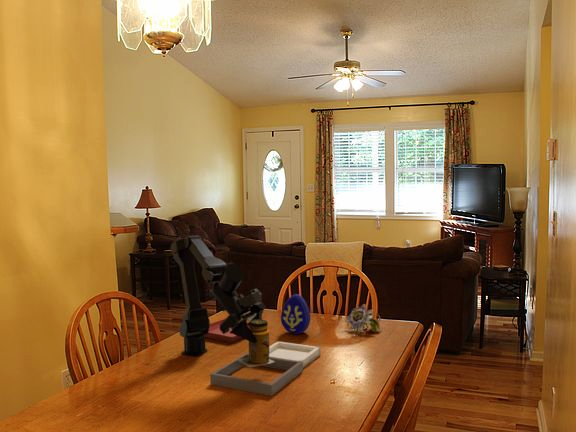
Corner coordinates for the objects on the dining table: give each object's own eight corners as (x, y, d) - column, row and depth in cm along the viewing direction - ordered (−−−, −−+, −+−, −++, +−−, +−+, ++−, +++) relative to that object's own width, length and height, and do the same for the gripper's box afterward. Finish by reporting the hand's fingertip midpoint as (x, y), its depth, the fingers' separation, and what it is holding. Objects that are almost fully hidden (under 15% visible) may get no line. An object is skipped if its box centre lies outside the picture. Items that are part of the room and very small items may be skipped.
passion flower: (356, 345, 200) (338, 319, 202) (368, 333, 208) (351, 308, 210) (377, 334, 193) (358, 307, 195) (389, 322, 202) (370, 296, 204)
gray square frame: (210, 384, 150) (210, 374, 149) (246, 362, 167) (245, 353, 167) (272, 396, 141) (271, 385, 141) (302, 371, 159) (302, 361, 158)
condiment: (275, 362, 153) (274, 322, 152) (249, 368, 148) (249, 327, 147) (262, 355, 159) (262, 316, 158) (237, 361, 154) (237, 321, 153)
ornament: (278, 334, 197) (277, 295, 196) (287, 328, 206) (287, 290, 205) (305, 337, 193) (305, 297, 192) (314, 331, 201) (313, 292, 200)
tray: (256, 362, 167) (256, 354, 167) (277, 348, 181) (277, 341, 181) (301, 369, 160) (301, 361, 160) (320, 354, 174) (320, 347, 174)
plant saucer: (261, 332, 201) (261, 324, 201) (232, 345, 186) (232, 336, 186) (225, 326, 211) (225, 318, 211) (194, 337, 196) (194, 329, 196)
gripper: (227, 287, 145) (262, 331, 141) (260, 276, 162) (292, 315, 158) (205, 312, 150) (238, 355, 146) (239, 298, 166) (269, 337, 162)
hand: (261, 339), depth 153 cm, fingers closed on condiment, 6 cm apart
